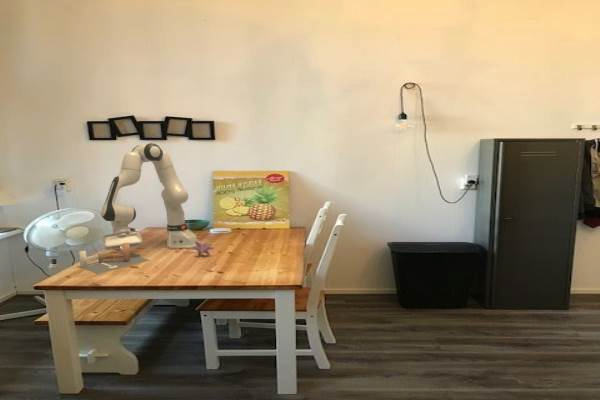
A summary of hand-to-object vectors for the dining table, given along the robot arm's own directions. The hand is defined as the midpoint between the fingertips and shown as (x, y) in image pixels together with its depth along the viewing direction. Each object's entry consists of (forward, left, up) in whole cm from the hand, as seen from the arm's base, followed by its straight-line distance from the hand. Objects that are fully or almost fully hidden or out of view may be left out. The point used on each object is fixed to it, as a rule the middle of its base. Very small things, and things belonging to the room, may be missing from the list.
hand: (125, 253), depth 217 cm
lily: (-40, -16, -5) cm, 43 cm away
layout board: (+2, +6, -5) cm, 8 cm away
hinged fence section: (+4, +3, -4) cm, 6 cm away
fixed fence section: (+14, +11, -4) cm, 18 cm away
